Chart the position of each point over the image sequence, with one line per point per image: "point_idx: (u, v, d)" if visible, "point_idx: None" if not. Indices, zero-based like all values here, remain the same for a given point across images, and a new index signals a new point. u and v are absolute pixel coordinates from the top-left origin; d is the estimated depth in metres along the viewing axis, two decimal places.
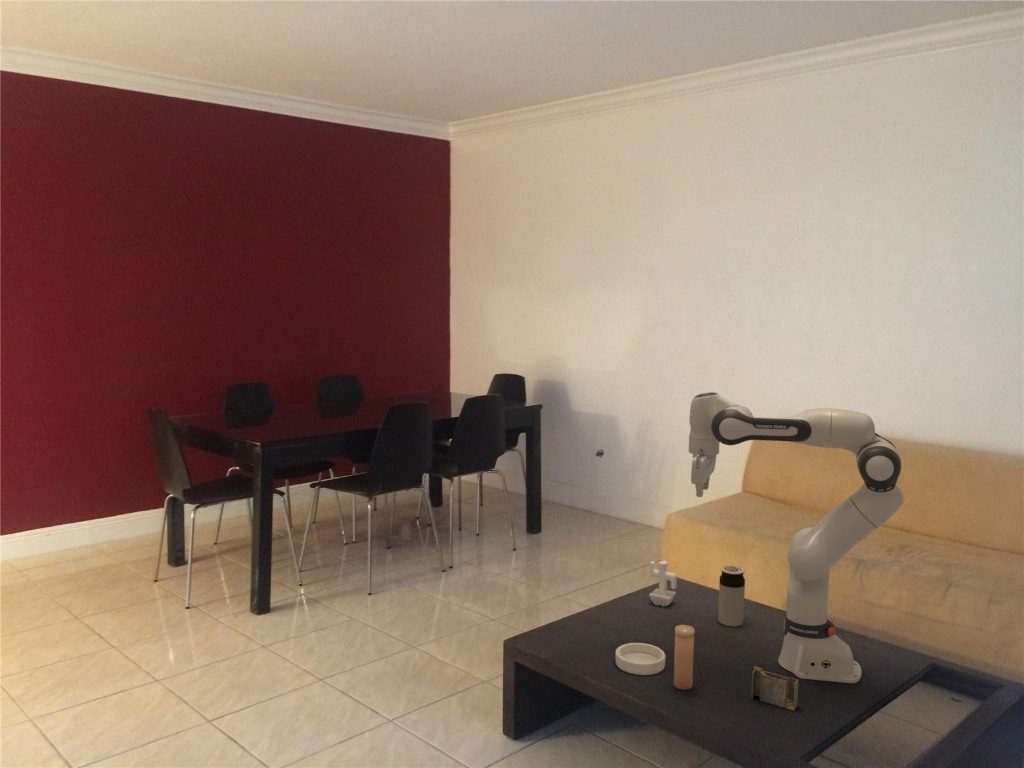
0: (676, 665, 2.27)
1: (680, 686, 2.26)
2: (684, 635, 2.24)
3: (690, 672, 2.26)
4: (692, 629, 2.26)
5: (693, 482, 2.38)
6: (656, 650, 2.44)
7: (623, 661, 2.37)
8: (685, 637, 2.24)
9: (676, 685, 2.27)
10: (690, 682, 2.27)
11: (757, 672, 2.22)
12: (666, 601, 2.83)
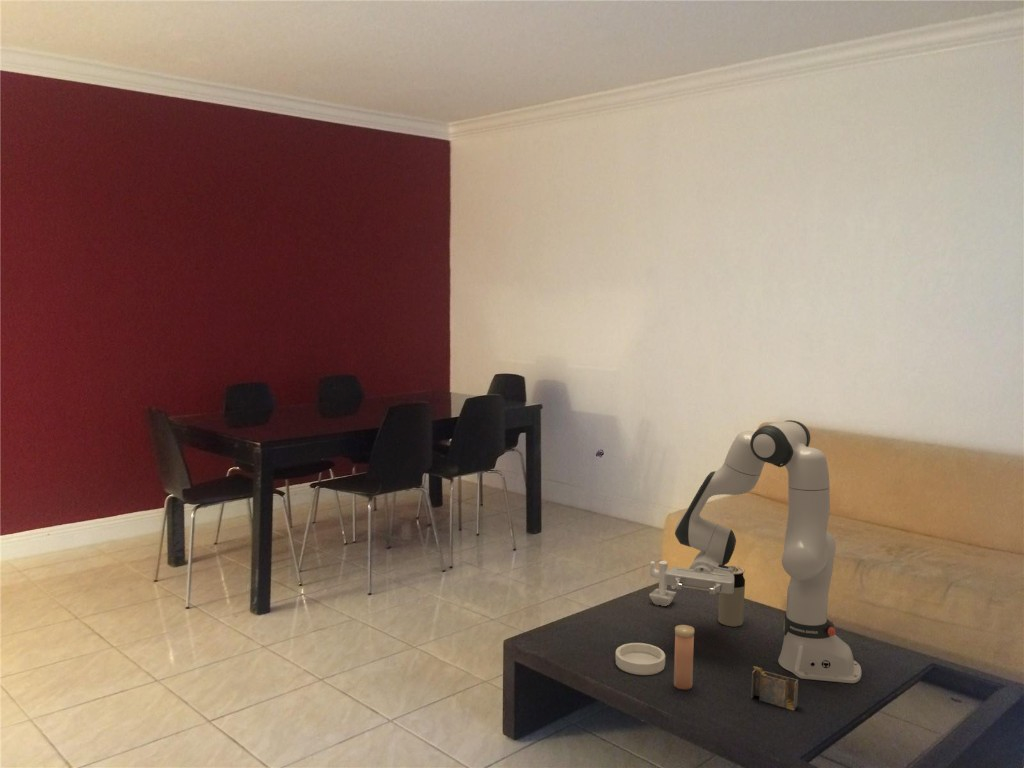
0: (676, 665, 2.27)
1: (680, 686, 2.26)
2: (684, 635, 2.24)
3: (690, 672, 2.26)
4: (692, 629, 2.26)
5: (665, 582, 2.48)
6: (656, 650, 2.44)
7: (623, 661, 2.37)
8: (685, 637, 2.24)
9: (676, 685, 2.27)
10: (690, 682, 2.27)
11: (757, 672, 2.22)
12: (666, 601, 2.83)
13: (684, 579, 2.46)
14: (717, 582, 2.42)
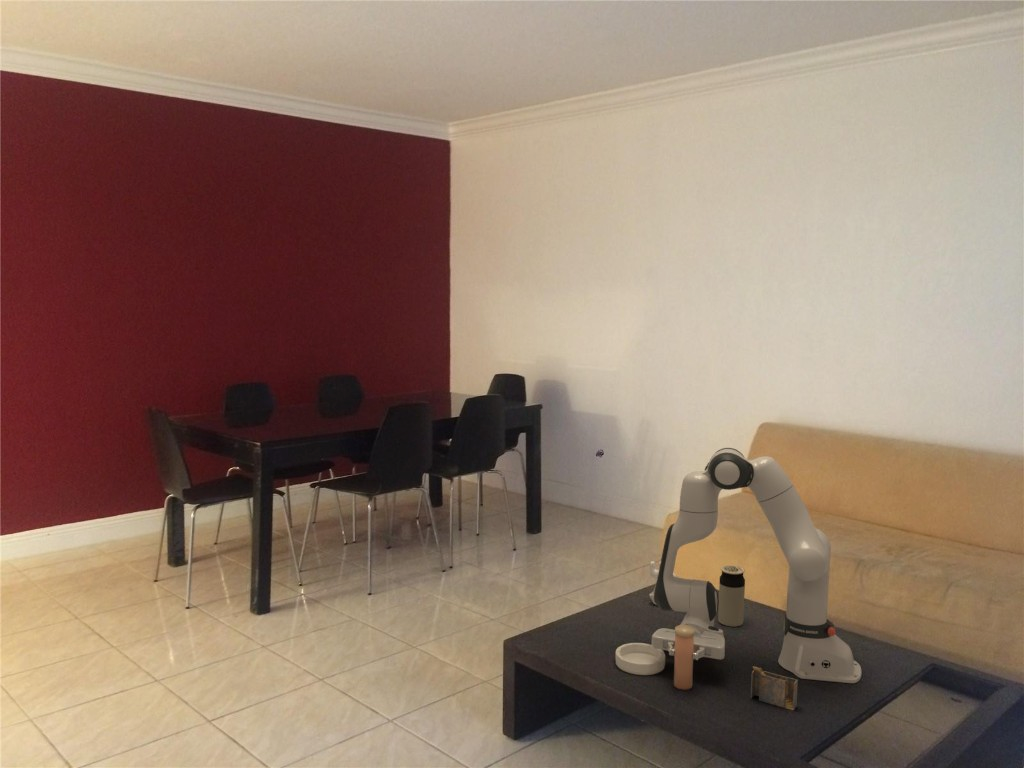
0: (676, 665, 2.27)
1: (680, 686, 2.26)
2: (684, 635, 2.24)
3: (690, 672, 2.26)
4: (692, 629, 2.26)
5: (652, 645, 2.35)
6: (656, 650, 2.44)
7: (623, 661, 2.37)
8: (685, 637, 2.24)
9: (676, 685, 2.27)
10: (690, 682, 2.27)
11: (756, 672, 2.22)
12: None
13: None
14: (706, 647, 2.29)
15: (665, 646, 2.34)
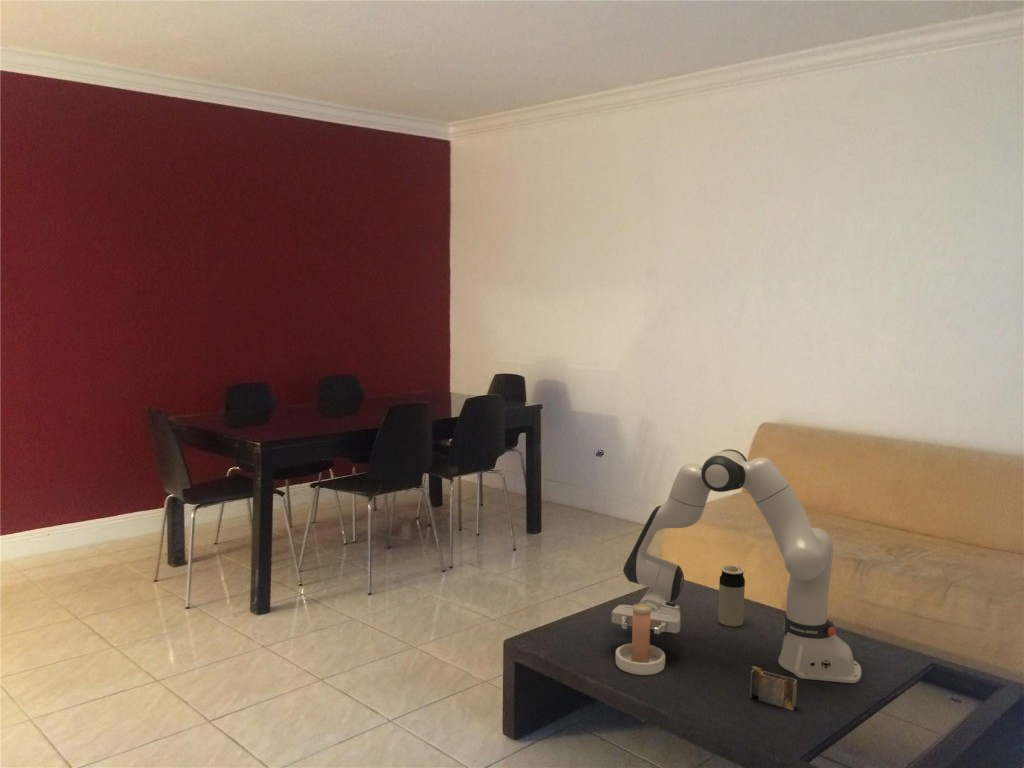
0: (633, 641, 2.39)
1: (637, 661, 2.39)
2: (641, 612, 2.37)
3: (646, 648, 2.39)
4: (649, 607, 2.39)
5: (612, 620, 2.48)
6: (656, 650, 2.44)
7: (623, 661, 2.37)
8: (642, 614, 2.37)
9: (633, 660, 2.40)
10: (646, 658, 2.39)
11: (756, 672, 2.22)
12: None
13: (630, 618, 2.46)
14: (662, 621, 2.41)
15: None
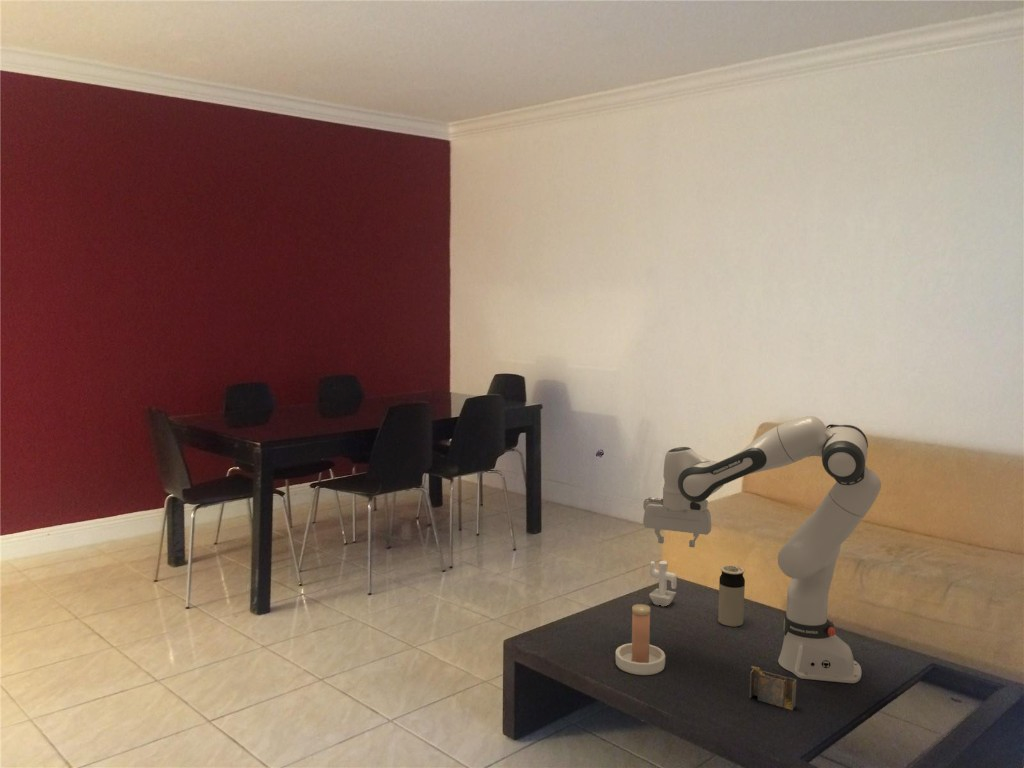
0: (633, 642, 2.39)
1: None
2: (640, 613, 2.37)
3: (646, 649, 2.39)
4: (648, 608, 2.39)
5: None
6: (656, 650, 2.44)
7: (623, 661, 2.37)
8: (641, 616, 2.37)
9: (633, 661, 2.40)
10: (646, 658, 2.39)
11: (755, 672, 2.22)
12: (666, 601, 2.83)
13: None
14: (694, 533, 2.48)
15: None
